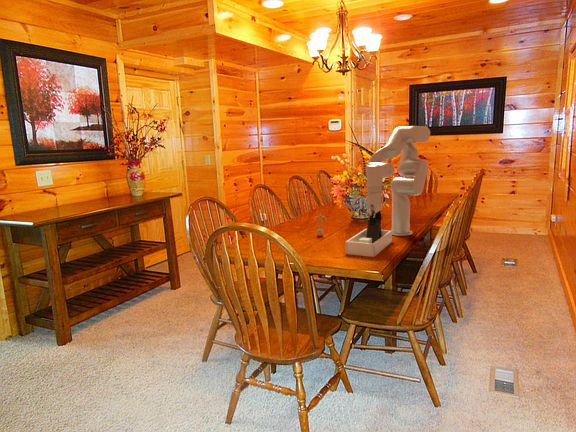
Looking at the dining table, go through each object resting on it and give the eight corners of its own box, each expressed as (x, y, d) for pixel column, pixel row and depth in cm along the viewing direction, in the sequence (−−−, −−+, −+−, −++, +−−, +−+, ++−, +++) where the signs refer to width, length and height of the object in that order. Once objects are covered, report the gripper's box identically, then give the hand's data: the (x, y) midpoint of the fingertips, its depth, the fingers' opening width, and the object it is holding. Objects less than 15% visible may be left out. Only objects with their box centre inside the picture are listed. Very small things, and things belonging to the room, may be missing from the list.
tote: (365, 239, 229) (365, 228, 228) (391, 241, 222) (391, 230, 221) (345, 253, 203) (345, 241, 202) (374, 257, 197) (374, 244, 195)
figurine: (312, 236, 240) (311, 215, 238) (314, 234, 245) (313, 213, 243) (326, 236, 238) (326, 215, 236) (328, 234, 243) (328, 213, 241)
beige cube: (361, 247, 210) (361, 237, 209) (371, 248, 208) (371, 238, 207) (358, 249, 206) (358, 239, 205) (368, 250, 203) (368, 240, 202)
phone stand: (371, 239, 224) (371, 217, 222) (382, 240, 221) (382, 218, 219) (365, 243, 216) (365, 220, 214) (377, 244, 213) (377, 221, 211)
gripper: (372, 186, 223) (373, 218, 227) (361, 192, 208) (362, 226, 212) (386, 186, 219) (387, 219, 223) (376, 193, 205) (377, 227, 209)
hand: (375, 222), depth 218 cm, fingers open, 9 cm apart
